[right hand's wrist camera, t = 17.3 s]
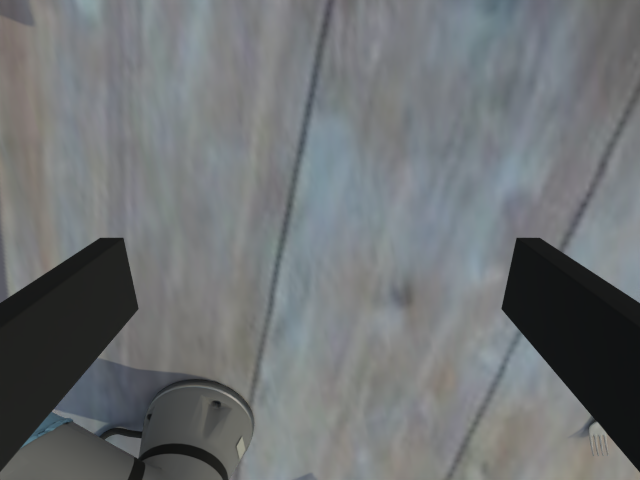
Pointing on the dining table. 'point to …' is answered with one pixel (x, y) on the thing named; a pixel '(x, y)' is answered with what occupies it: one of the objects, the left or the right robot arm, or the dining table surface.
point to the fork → (594, 431)
